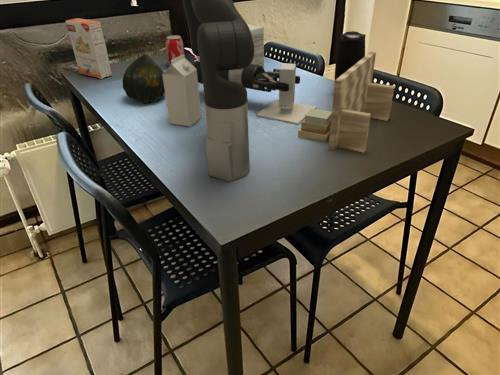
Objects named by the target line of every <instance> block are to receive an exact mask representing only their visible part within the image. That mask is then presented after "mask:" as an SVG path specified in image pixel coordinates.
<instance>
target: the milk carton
mask: <svg viewBox="0 0 500 375" xmlns="http://www.w3.org/2000/svg"><path fill="white" fill-rule="evenodd" d="M192 64H193V63H191V62H190V61H189V60H188V59H187V58H186V55H185V53H184V54H183V55H181V56H179V57H177V58H175V59H173V60H171V66H168V67H167V69H166V70H164V71H163V72H164V73H163V74H162V76H163V82H164V89H165V94H164V95H165V100H166V101H165V102H166V107H167V114H168V120H169V124H171V125H175V126H176V125H177V126H184V127H192V126H193V125H194V124H195V123H197V122H198V121H199V120H200V119H202V111H201V110H202V109H201V100H200V90H199V83H198V79H197V70H196V68H195V67H194V66H193V65H192Z"/></svg>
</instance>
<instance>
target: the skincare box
mask: <svg viewBox="0 0 500 375" xmlns="http://www.w3.org/2000/svg"><path fill="white" fill-rule="evenodd" d="M279 70H280V81H279V82H281V83H287V84H289V91H287V92H285V91H280V90H278V100H279V108H287V109H292V107H293V104H294V103H295V92H296V84H295V76H297V74H296V72H297V71H296V70H297V63H289V62H288V63H285V62H284V63H283V62H282V64H281V66H280V69H279Z"/></svg>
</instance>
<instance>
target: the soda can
mask: <svg viewBox="0 0 500 375" xmlns="http://www.w3.org/2000/svg"><path fill="white" fill-rule="evenodd" d="M165 46H166V47H165V48H166V50H165V51H166V56H167V63H168V65H169V66H168V67H170V66H171V60H173V59H175V58H177V57H179V56H181V55H183V54H184V55H185V48H184V42H183V39H182V38H181V35H179V34H176V35H175V34H174V35H173V34H172V35H168V36H166V40H165Z"/></svg>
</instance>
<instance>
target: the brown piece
mask: <svg viewBox="0 0 500 375" xmlns="http://www.w3.org/2000/svg"><path fill="white" fill-rule="evenodd" d="M376 56H377V52H376V51H370V52H369V53H367V54H365V57H364V58H362V59H361V60H360V61H359V62H357V63H356V64H355V65H354V66H352V67H351V68H350V69H349V70H347V71H346V72H345V73H344V74H342V75H341V76H340V77H339V78H337V79H336V80H335V79H334V86H333V96H332V98H333V99H332V107H331V110H332V111H331V112H332V118H331V129H330V138H329V140H328V141H329V142H328V150H331V151H335V150H336V149H337V148H341V149H345V150H348V151H349V150H351V151H355V152H359V153H362V154H364V153H365V152H366V150H367V143H368V136H369V131H370V130H369V129H370V124H371V119H374V120H380V121H385V122H389V119H390V114H391V108H392V103H393V97H394V93H395V92H394V91H395V86H396V85H391V84H384V83H377V82H373V76H374V69H375V62H376Z"/></svg>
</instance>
